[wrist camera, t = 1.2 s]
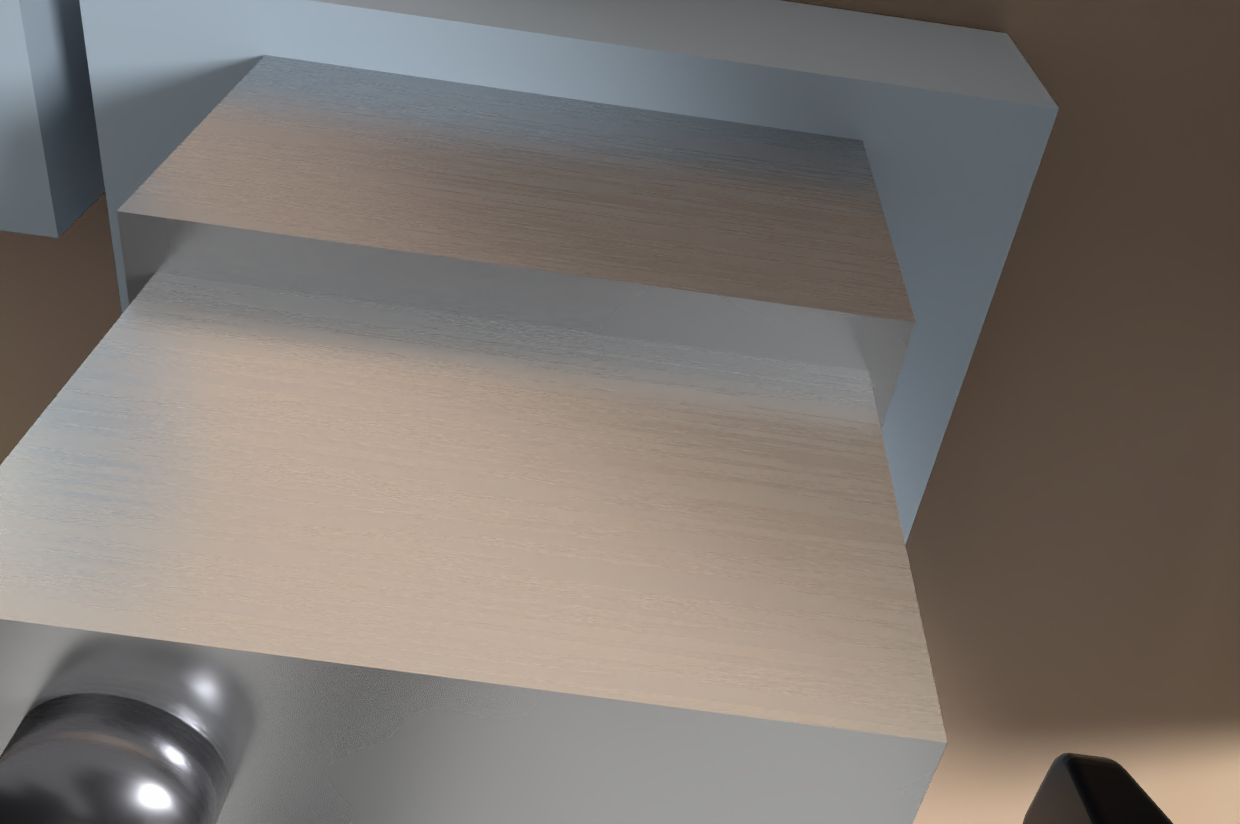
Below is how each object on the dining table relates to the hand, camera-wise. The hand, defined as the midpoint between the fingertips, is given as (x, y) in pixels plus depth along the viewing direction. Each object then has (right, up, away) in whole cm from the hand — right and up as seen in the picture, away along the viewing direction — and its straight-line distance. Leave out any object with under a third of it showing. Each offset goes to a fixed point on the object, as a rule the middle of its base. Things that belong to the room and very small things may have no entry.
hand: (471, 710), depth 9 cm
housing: (0, +2, +3) cm, 4 cm away
